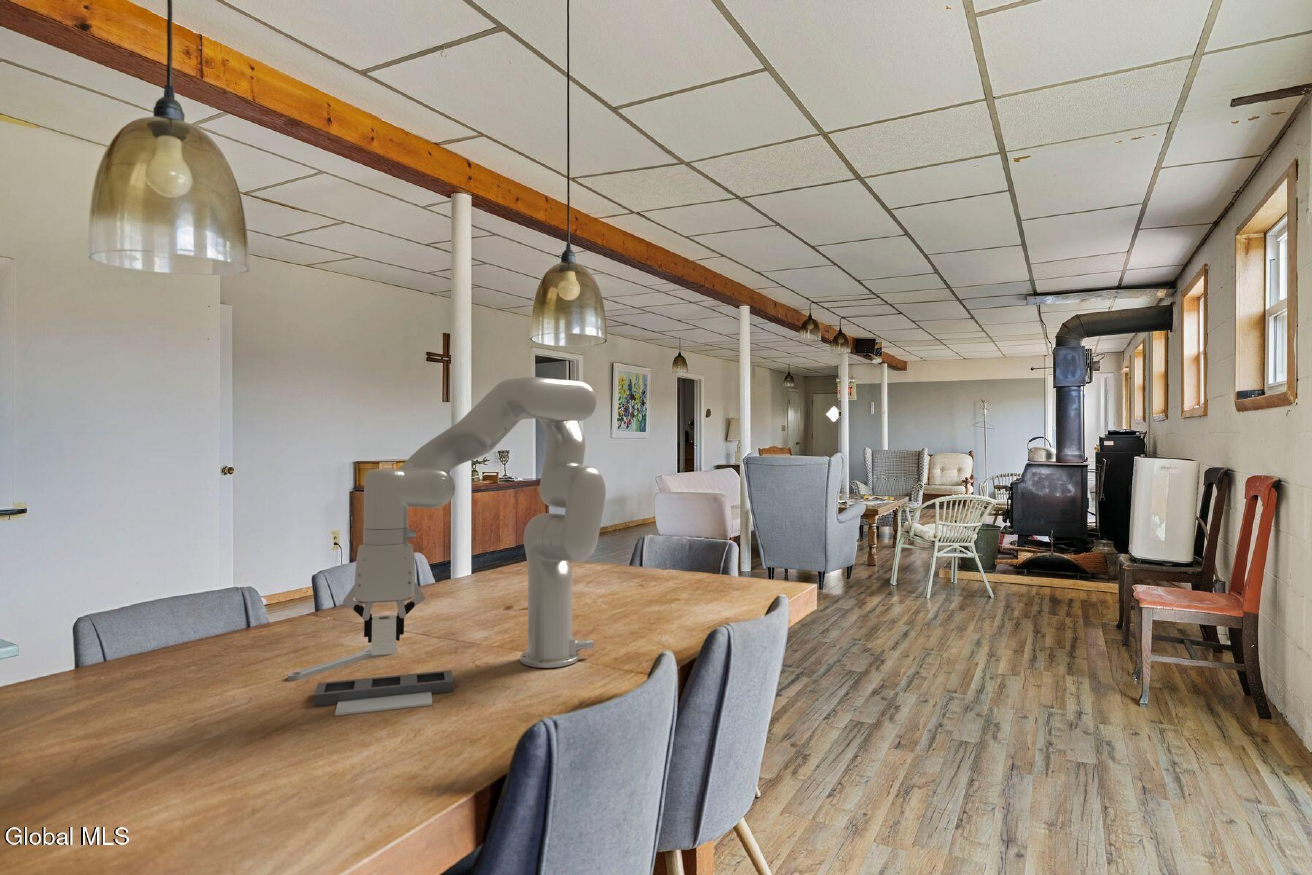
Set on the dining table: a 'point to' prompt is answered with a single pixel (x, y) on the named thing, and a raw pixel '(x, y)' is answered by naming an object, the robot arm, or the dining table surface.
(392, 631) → the grey post with hole
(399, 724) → the dining table surface
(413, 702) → the mat
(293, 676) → the adjustable wrench
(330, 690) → the rail
